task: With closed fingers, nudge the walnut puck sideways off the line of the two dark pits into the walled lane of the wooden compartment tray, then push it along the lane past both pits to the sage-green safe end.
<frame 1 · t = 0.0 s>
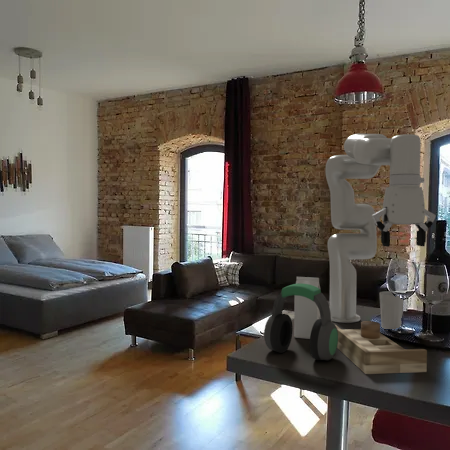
hand: (403, 246, 122), 31 cm above the table, tool pointing down, fingers open, 9 cm apart
headphones: (300, 356, 128), on the table
wooden compartment tray: (369, 352, 130), on the table
cup: (391, 329, 155), on the table
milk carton: (307, 336, 146), on the table
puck: (370, 336, 138), point 2 cm above the table, touching wooden compartment tray
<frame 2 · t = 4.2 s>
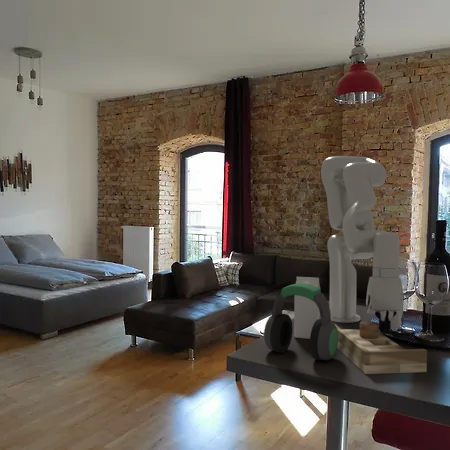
hand: (384, 332, 139), 3 cm above the table, tool pointing down, fingers closed
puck: (369, 336, 138), point 2 cm above the table, touching wooden compartment tray, gripper
everything else where it was.
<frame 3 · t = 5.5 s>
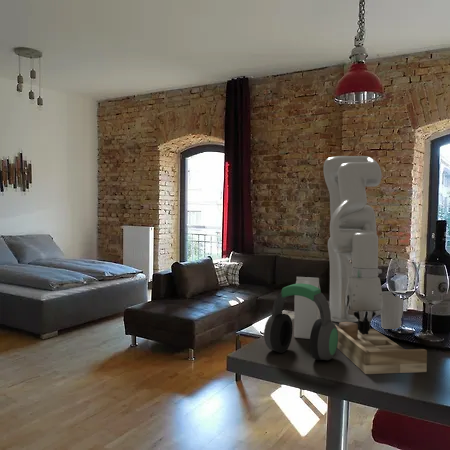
hand: (363, 333, 138), 3 cm above the table, tool pointing down, fingers closed
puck: (348, 337, 137), point 2 cm above the table, touching wooden compartment tray, gripper
everything else where it was.
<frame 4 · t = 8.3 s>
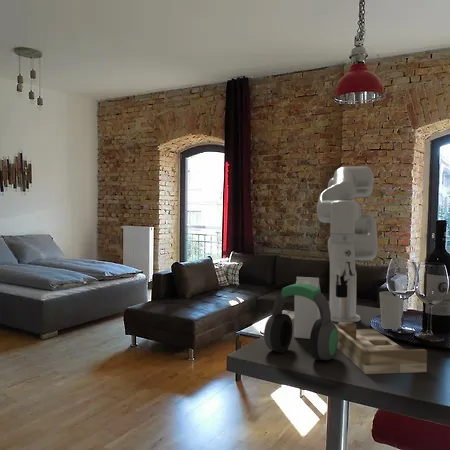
hand: (341, 297, 144), 13 cm above the table, tool pointing down, fingers closed
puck: (346, 337, 137), point 2 cm above the table, touching wooden compartment tray
everything else where it was.
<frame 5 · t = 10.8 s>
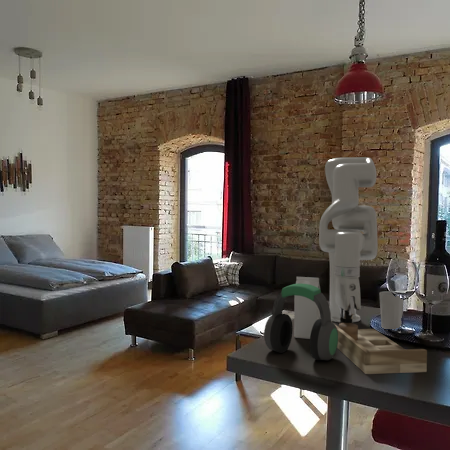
hand: (346, 330, 141), 3 cm above the table, tool pointing down, fingers closed
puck: (348, 338, 136), point 2 cm above the table, touching gripper
everything else where it was.
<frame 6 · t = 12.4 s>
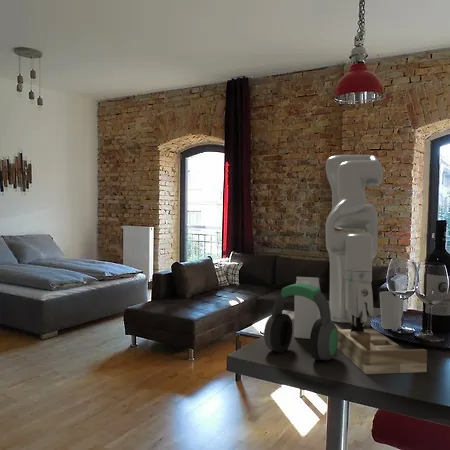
hand: (357, 338, 132), 3 cm above the table, tool pointing down, fingers closed
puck: (360, 348, 127), point 2 cm above the table, touching gripper
everything else where it was.
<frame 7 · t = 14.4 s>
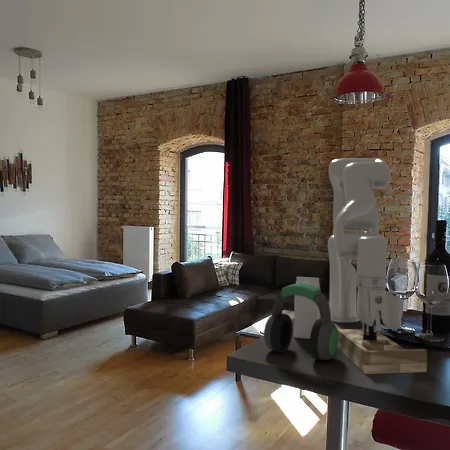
hand: (369, 348, 124), 3 cm above the table, tool pointing down, fingers closed
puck: (372, 358, 119), point 2 cm above the table, touching wooden compartment tray, gripper
everything else where it was.
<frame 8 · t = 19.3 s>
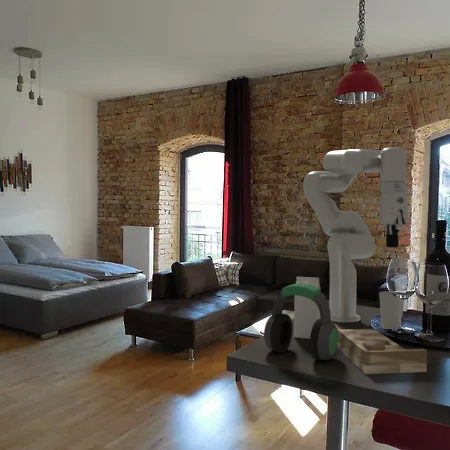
hand: (391, 247, 141), 29 cm above the table, tool pointing down, fingers closed
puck: (373, 358, 118), point 2 cm above the table, touching wooden compartment tray
everything else where it was.
at the end: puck inside the target area on the wooden compartment tray (1.5 cm from its centre), point 2.2 cm above the wooden compartment tray's base; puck tilted 0° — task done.
